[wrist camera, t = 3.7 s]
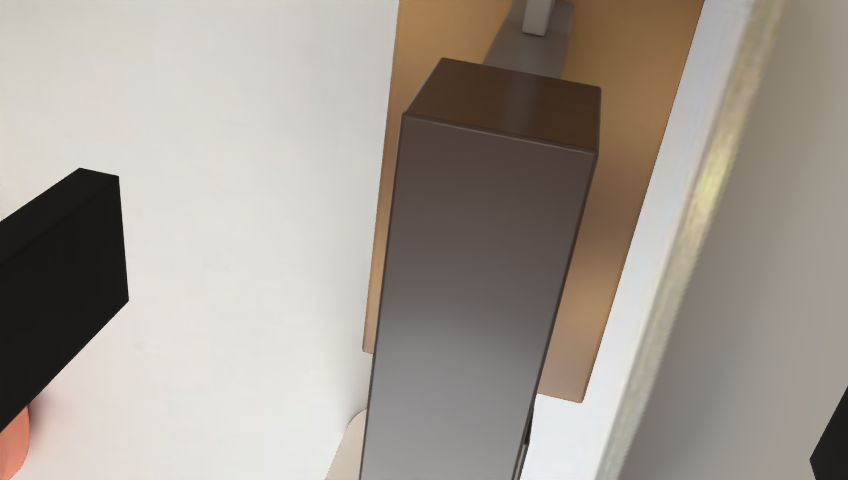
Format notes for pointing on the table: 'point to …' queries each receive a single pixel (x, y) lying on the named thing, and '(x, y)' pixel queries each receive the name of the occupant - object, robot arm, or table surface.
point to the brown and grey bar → (479, 253)
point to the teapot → (14, 445)
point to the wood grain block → (618, 152)
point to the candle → (349, 451)
